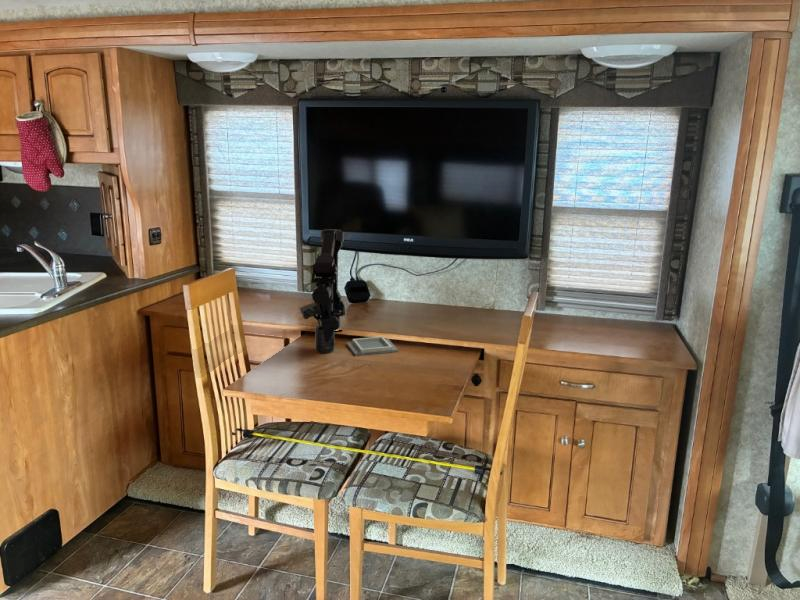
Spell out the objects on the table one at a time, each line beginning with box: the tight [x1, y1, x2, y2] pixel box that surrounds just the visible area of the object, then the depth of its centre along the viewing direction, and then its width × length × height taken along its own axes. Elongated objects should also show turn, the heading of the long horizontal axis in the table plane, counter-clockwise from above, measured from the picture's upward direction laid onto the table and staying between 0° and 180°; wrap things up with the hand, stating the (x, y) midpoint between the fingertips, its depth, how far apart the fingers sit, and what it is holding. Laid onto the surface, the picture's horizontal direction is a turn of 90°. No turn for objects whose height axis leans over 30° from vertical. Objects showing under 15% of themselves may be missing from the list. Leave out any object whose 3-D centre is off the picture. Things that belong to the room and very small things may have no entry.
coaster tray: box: [346, 336, 399, 357], centre depth 221 cm, size 12×16×2 cm
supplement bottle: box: [314, 317, 336, 354], centre depth 216 cm, size 7×7×12 cm
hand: (324, 338), depth 216 cm, fingers closed on supplement bottle, 7 cm apart
